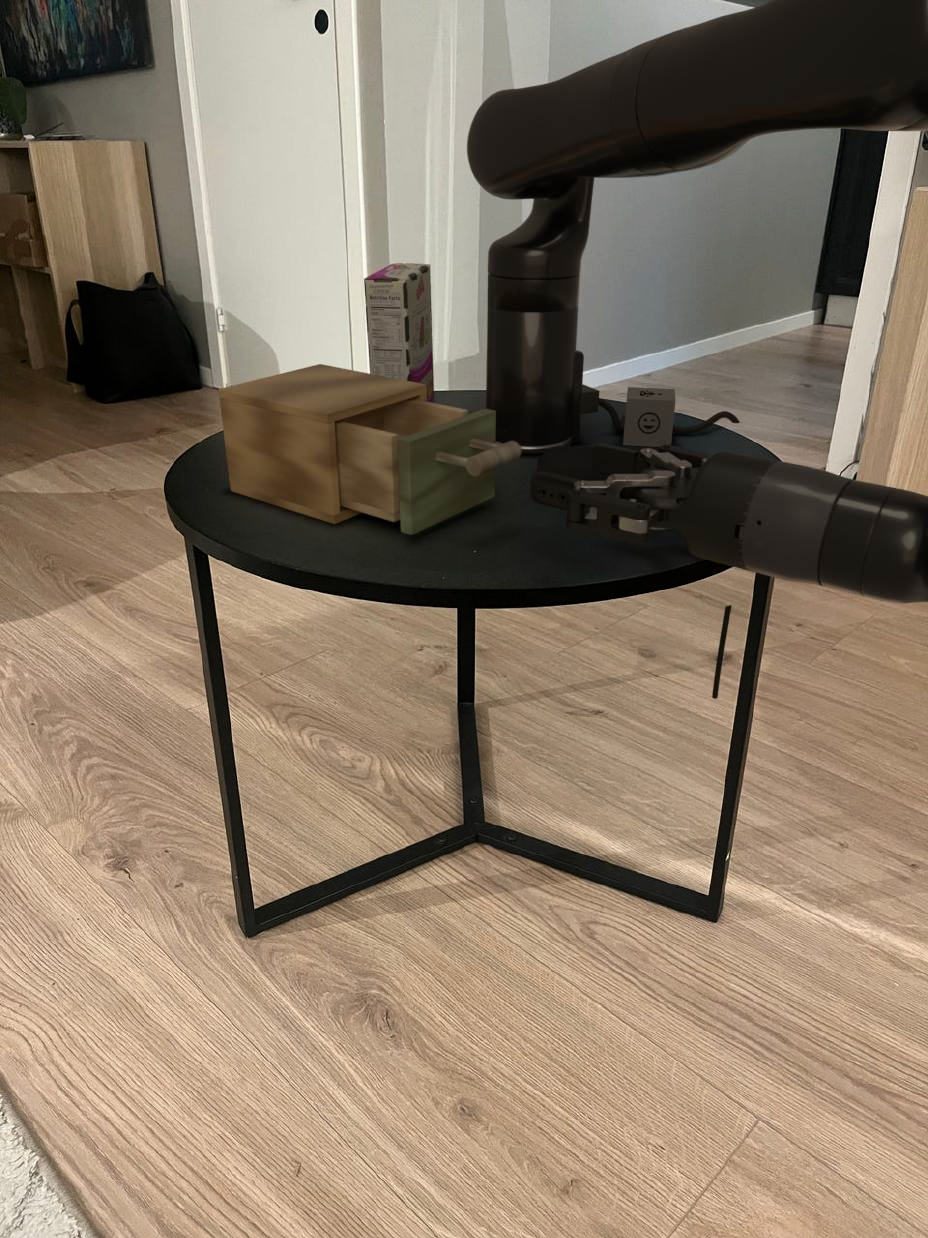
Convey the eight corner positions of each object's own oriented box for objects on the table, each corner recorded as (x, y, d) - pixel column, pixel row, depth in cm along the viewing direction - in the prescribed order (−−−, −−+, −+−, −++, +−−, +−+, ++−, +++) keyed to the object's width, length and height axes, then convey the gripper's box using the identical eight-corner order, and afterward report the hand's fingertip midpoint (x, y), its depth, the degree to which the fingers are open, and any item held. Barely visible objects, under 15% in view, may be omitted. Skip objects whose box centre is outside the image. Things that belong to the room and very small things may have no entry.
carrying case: (687, 471, 94) (538, 466, 95) (691, 441, 92) (539, 436, 94) (700, 510, 84) (534, 504, 86) (704, 477, 83) (535, 472, 84)
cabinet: (428, 485, 90) (426, 384, 86) (334, 524, 82) (327, 414, 77) (326, 458, 98) (320, 363, 93) (230, 491, 89) (218, 388, 84)
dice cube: (624, 431, 106) (627, 386, 104) (670, 434, 105) (674, 388, 103) (623, 445, 102) (626, 398, 99) (670, 447, 101) (675, 400, 98)
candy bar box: (395, 404, 116) (390, 262, 109) (435, 406, 116) (433, 263, 108) (369, 429, 107) (361, 275, 99) (412, 432, 106) (408, 277, 98)
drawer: (539, 508, 82) (543, 420, 79) (458, 549, 74) (457, 453, 71) (390, 469, 92) (387, 388, 88) (303, 502, 84) (296, 414, 80)
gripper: (818, 438, 67) (615, 402, 76) (733, 493, 57) (511, 444, 66) (801, 537, 70) (609, 492, 79) (718, 606, 60) (509, 545, 69)
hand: (564, 470), depth 72 cm, fingers open, 8 cm apart
